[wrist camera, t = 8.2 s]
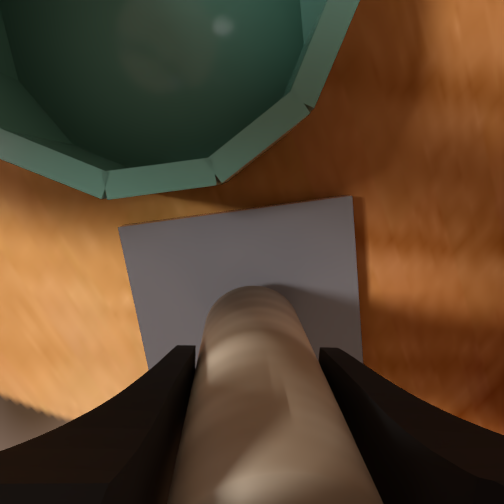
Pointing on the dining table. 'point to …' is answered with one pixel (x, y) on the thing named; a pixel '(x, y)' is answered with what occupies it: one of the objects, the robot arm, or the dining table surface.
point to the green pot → (158, 86)
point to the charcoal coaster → (246, 270)
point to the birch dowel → (264, 415)
